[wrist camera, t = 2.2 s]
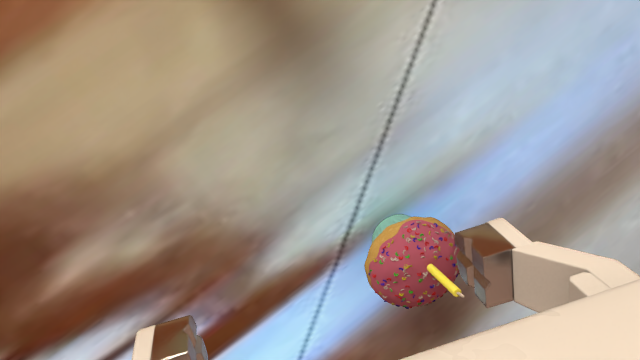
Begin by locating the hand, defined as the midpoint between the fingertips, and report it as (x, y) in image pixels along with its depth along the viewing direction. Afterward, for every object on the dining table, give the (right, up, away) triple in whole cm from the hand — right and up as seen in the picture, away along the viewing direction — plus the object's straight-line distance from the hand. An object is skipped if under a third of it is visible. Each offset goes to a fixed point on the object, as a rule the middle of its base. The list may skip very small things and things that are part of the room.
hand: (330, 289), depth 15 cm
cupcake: (+7, -2, +32) cm, 33 cm away
